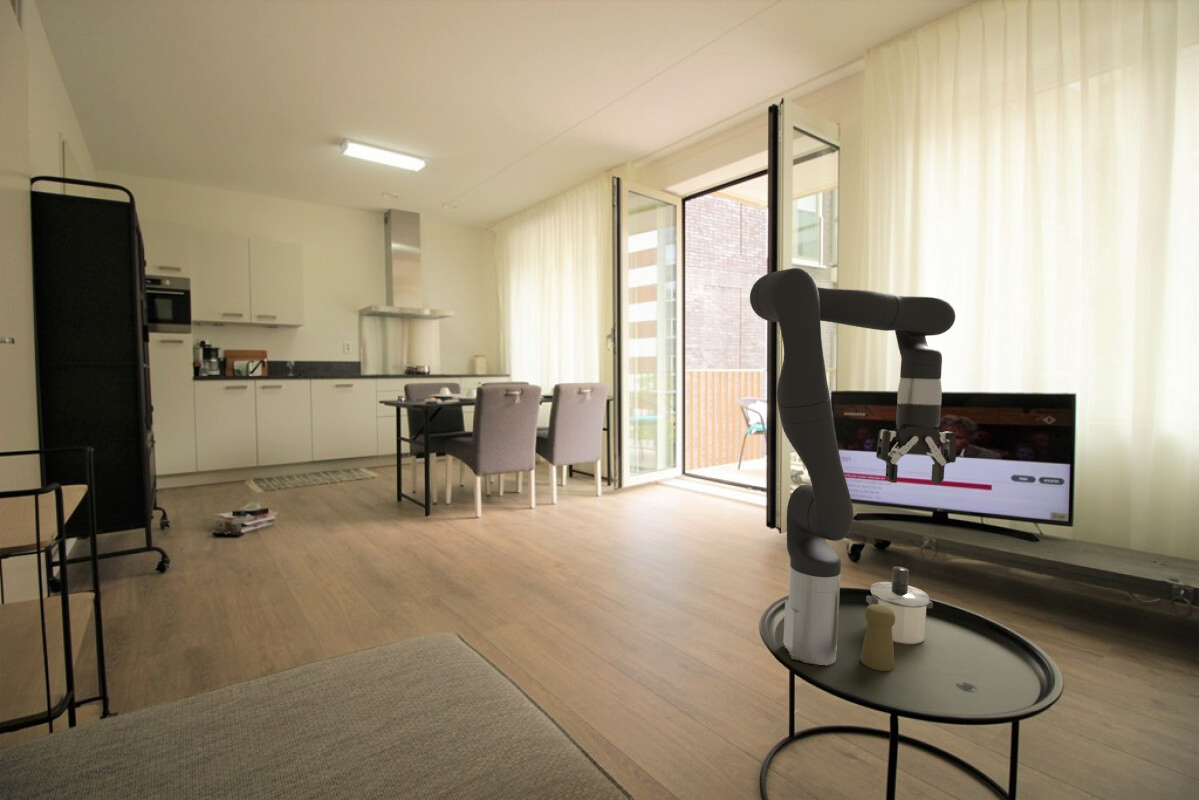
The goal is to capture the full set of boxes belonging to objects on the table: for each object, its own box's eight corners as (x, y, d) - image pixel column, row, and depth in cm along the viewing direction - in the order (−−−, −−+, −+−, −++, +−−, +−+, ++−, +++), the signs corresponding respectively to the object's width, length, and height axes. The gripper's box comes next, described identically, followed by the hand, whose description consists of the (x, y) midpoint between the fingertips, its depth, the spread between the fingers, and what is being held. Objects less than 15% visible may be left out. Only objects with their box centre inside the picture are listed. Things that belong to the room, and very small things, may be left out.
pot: (877, 642, 115) (879, 605, 114) (857, 620, 125) (859, 586, 124) (940, 645, 114) (943, 607, 114) (915, 623, 124) (917, 588, 124)
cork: (853, 658, 108) (856, 603, 108) (874, 652, 111) (877, 598, 110) (880, 673, 103) (883, 616, 102) (902, 667, 105) (905, 610, 105)
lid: (884, 606, 114) (886, 577, 113) (862, 585, 125) (863, 559, 124) (939, 608, 113) (941, 579, 113) (912, 587, 124) (913, 561, 124)
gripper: (944, 401, 113) (939, 480, 114) (873, 399, 114) (869, 477, 115) (967, 403, 105) (962, 488, 106) (891, 401, 106) (886, 485, 107)
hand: (914, 482), depth 110 cm, fingers open, 8 cm apart
